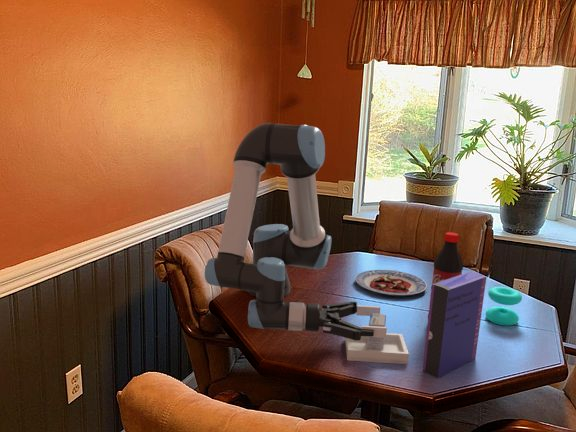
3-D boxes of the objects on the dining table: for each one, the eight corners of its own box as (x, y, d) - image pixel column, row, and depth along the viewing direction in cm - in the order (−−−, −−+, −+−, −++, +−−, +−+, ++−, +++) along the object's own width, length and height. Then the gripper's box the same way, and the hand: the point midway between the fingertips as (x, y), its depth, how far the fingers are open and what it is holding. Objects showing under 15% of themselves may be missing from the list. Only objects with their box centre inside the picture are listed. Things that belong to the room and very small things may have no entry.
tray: (345, 340, 161) (345, 330, 160) (401, 343, 160) (402, 334, 160) (347, 360, 149) (347, 349, 149) (407, 364, 149) (408, 353, 148)
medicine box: (382, 355, 151) (385, 325, 148) (366, 353, 151) (368, 323, 149) (383, 343, 158) (386, 314, 156) (367, 340, 159) (370, 312, 157)
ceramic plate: (429, 303, 192) (430, 295, 191) (353, 296, 195) (354, 288, 195) (423, 278, 216) (424, 271, 216) (356, 272, 220) (356, 265, 219)
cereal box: (460, 352, 157) (470, 270, 151) (475, 359, 153) (486, 275, 148) (422, 370, 146) (431, 283, 140) (437, 378, 142) (448, 289, 137)
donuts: (485, 291, 176) (493, 283, 184) (481, 321, 179) (489, 311, 187) (518, 299, 171) (525, 290, 179) (513, 329, 173) (521, 319, 181)
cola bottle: (436, 334, 167) (447, 237, 160) (421, 322, 175) (431, 229, 168) (460, 332, 170) (473, 236, 163) (445, 320, 178) (456, 229, 171)
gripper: (304, 311, 166) (376, 315, 166) (303, 350, 142) (387, 355, 142) (306, 287, 165) (378, 291, 164) (305, 323, 140) (390, 328, 140)
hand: (383, 321), depth 153 cm, fingers open, 13 cm apart
